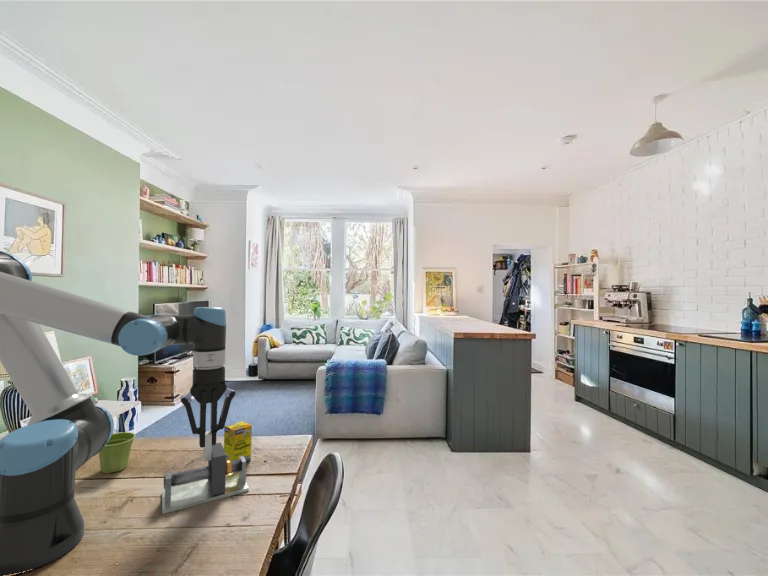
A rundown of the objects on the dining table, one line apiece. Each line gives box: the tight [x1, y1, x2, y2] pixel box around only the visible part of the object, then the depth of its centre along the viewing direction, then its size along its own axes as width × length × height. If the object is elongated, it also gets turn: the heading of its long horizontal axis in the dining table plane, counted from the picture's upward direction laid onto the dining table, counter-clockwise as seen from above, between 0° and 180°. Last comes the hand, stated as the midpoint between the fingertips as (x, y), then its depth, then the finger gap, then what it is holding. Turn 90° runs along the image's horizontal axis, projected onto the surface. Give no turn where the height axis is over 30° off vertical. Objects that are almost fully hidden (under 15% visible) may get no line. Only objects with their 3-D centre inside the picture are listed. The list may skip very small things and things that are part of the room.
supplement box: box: [223, 420, 253, 463], centre depth 107 cm, size 6×6×11 cm
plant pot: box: [98, 431, 137, 474], centre depth 102 cm, size 9×9×9 cm
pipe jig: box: [161, 456, 250, 515], centre depth 90 cm, size 19×10×7 cm, turn 123°
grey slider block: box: [207, 442, 226, 495], centre depth 92 cm, size 3×9×9 cm, turn 33°
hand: (207, 458), depth 90 cm, fingers closed
